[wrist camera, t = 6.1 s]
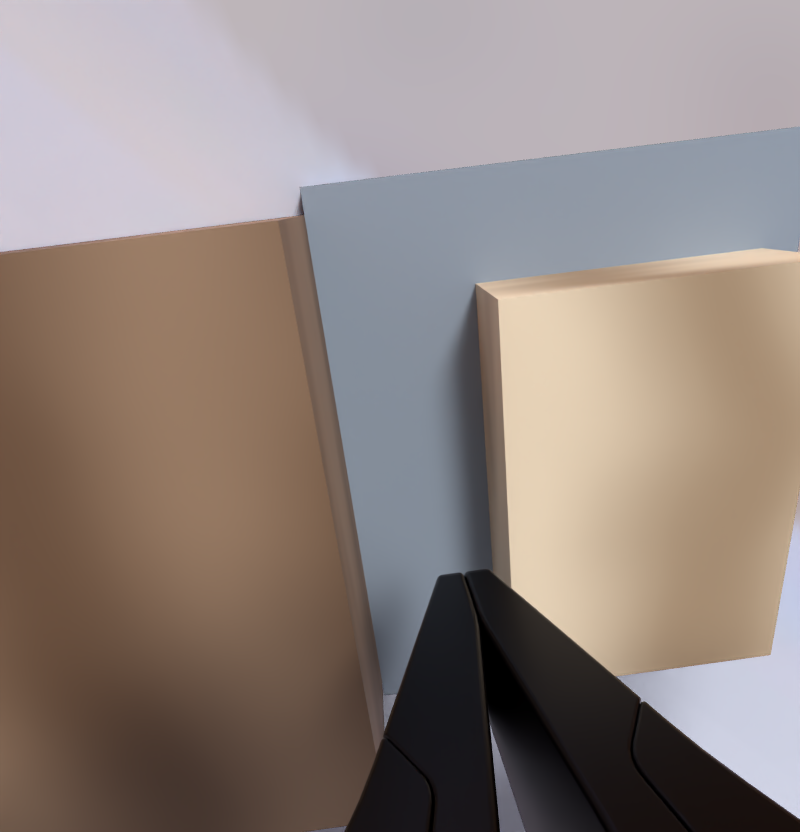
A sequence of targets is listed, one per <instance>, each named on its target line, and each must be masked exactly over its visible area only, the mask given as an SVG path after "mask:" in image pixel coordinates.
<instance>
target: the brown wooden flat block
mask: <svg viewBox="0 0 800 832" xmlns="http://www.w3.org/2000/svg"><path fill="white" fill-rule="evenodd" d="M383 734H384V712H383V689H382V678H381V672H380V666H379V660H378V654H377V648H376V642H375V636H374V630H373V624H372V618H371V612H370V606H369V600H368V594H367V588H366V582H365V576H364V570H363V564H362V558H361V552H360V546H359V540H358V534H357V528H356V522H355V516H354V510H353V504H352V498H351V492H350V486H349V480H348V474H347V468H346V462H345V456H344V450H343V444H342V438H341V432H340V426H339V420H338V414H337V408H336V402H335V396H334V390H333V384H332V378H331V372H330V366H329V360H328V354H327V348H326V342H325V336H324V330H323V324H322V318H321V312H320V306H319V300H318V294H317V288H316V282H315V276H314V270H313V264H312V258H311V252H310V246H309V240H308V234H307V228H306V222H305V216H304V215H301V216H292V217H284V218H276V219H268V220H260V221H252V222H243V223H235V224H227V225H219V226H211V227H202V228H194V229H186V230H178V231H170V232H162V233H153V234H145V235H137V236H129V237H121V238H113V239H104V240H96V241H88V242H80V243H72V244H63V245H55V246H47V247H39V248H31V249H23V250H14V251H6V252H0V832H307V831H314V830H321V829H327V828H334V827H341V826H347V825H348V823H349V821H350V819H351V816H352V814H353V812H354V810H355V808H356V805H357V803H358V801H359V799H360V796H361V793H362V791H363V788H364V786H365V783H366V780H367V778H368V775H369V773H370V770H371V767H372V765H373V762H374V759H375V756H376V753H377V750H378V748H379V745H380V742H381V740H382V739H383Z"/></svg>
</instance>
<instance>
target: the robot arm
mask: <svg viewBox="0 0 800 832" xmlns="http://www.w3.org/2000/svg"><path fill="white" fill-rule="evenodd" d="M490 725H491V728H492V731H493V735H494V738H495V741H496V744H497V747H498V750H499V753H500V756H501V759H502V762H503V765H504V768H505V771H506V774H507V777H508V780H509V783H510V786H511V789H512V792H513V795H514V798H515V801H516V804H517V807H518V810H519V813H520V816H521V819H522V822H523V825H524V828H525V831H526V832H800V819H799V818H797V817H796V816H794V815H793V814H792V813H790V812H789V811H787V810H786V809H784V808H783V807H782V806H780V805H779V804H777V803H776V802H775V801H773V800H772V799H770V798H769V797H768V796H766V795H765V794H763V793H762V792H761V791H759V790H758V789H756V788H755V787H753V786H752V785H751V784H749V783H748V782H746V781H745V780H744V779H742V778H741V777H740V776H738V775H737V774H736V773H734V772H733V771H732V770H730V769H729V768H728V767H726V766H725V765H724V764H722V763H721V762H719V761H718V760H717V759H715V758H714V757H713V756H711V755H710V754H709V753H707V752H706V751H705V750H703V749H702V748H701V747H699V746H698V745H697V744H696V743H695V742H693V741H692V740H691V739H690V738H688V737H687V736H686V735H685V734H683V733H682V732H681V731H680V730H679V729H677V728H676V727H675V726H674V725H672V724H671V723H670V722H669V721H667V720H666V719H665V718H664V717H663V716H662V715H660V714H659V713H658V712H657V711H656V710H654V709H653V708H652V707H651V706H650V705H649V704H647V703H646V702H641V698H640V697H639V696H638V695H637V694H635V693H634V692H633V691H632V690H631V689H630V688H628V687H627V686H626V685H625V684H624V683H622V682H621V681H620V680H619V679H618V678H617V677H615V676H614V675H613V674H612V673H611V672H610V671H608V670H607V669H606V668H605V667H604V666H603V665H601V664H600V663H599V662H598V661H597V660H595V659H594V658H593V657H592V656H591V655H590V654H588V653H587V652H586V651H585V650H584V649H583V648H581V647H580V646H579V645H578V644H577V643H576V642H574V641H573V640H572V639H571V638H570V637H568V636H567V635H566V634H565V633H564V632H563V631H561V630H560V629H559V628H558V627H557V626H556V625H554V624H553V623H552V622H551V621H550V620H549V619H547V618H546V617H545V616H544V615H543V614H542V613H540V612H539V611H538V610H537V609H536V608H534V607H533V606H532V605H531V604H530V603H529V602H527V601H526V600H525V599H524V598H523V597H522V596H520V595H519V594H518V593H517V592H516V591H515V590H513V589H512V588H511V587H510V586H509V585H507V584H506V583H505V582H504V581H503V580H502V579H500V578H499V577H498V576H497V575H496V574H495V573H493V572H492V571H491V570H489V569H480V570H472V571H467V572H466V573H465V574H464V575H463V574H462V573H460V572H458V573H450V574H443V575H440V576H438V578H437V580H436V583H435V586H434V589H433V592H432V595H431V597H430V600H429V603H428V606H427V609H426V612H425V615H424V618H423V621H422V624H421V627H420V629H419V632H418V635H417V638H416V641H415V644H414V647H413V650H412V653H411V656H410V658H409V661H408V664H407V667H406V670H405V673H404V676H403V679H402V682H401V685H400V687H399V690H398V693H397V696H396V699H395V702H394V705H393V708H392V711H391V714H390V717H389V719H388V722H387V725H386V728H385V731H384V734H383V739H382V740H381V742H380V745H379V748H378V750H377V753H376V756H375V759H374V762H373V765H372V767H371V770H370V773H369V775H368V778H367V780H366V783H365V786H364V788H363V791H362V793H361V796H360V799H359V801H358V803H357V805H356V808H355V810H354V812H353V814H352V816H351V819H350V821H349V823H348V825H347V827H346V830H345V832H500V826H499V816H498V805H497V795H496V785H495V774H494V764H493V753H492V743H491V732H490Z"/></svg>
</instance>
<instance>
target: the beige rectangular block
mask: <svg viewBox="0 0 800 832" xmlns="http://www.w3.org/2000/svg"><path fill="white" fill-rule="evenodd" d="M476 300H477V316H478V333H479V350H480V366H481V383H482V399H483V416H484V432H485V449H486V466H487V482H488V499H489V515H490V532H491V549H492V565H493V573H495V574H496V575H497V576H498V577H499V578H500V579H502V580H503V581H504V582H505V583H506V584H507V585H509V586H510V587H511V588H512V589H513V590H515V591H516V592H517V593H518V594H519V595H520V596H522V597H523V598H524V599H525V600H526V601H527V602H529V603H530V604H531V605H532V606H533V607H534V608H536V609H537V610H538V611H539V612H540V613H542V614H543V615H544V616H545V617H546V618H547V619H549V620H550V621H551V622H552V623H553V624H554V625H556V626H557V627H558V628H559V629H560V630H561V631H563V632H564V633H565V634H566V635H567V636H568V637H570V638H571V639H572V640H573V641H574V642H576V643H577V644H578V645H579V646H580V647H581V648H583V649H584V650H585V651H586V652H587V653H588V654H590V655H591V656H592V657H593V658H594V659H595V660H597V661H598V662H599V663H600V664H601V665H603V666H604V667H605V668H606V669H607V670H608V671H610V672H611V673H612V674H613V675H614V676H623V675H630V674H637V673H644V672H651V671H658V670H666V669H673V668H680V667H687V666H694V665H702V664H709V663H716V662H723V661H730V660H737V659H745V658H752V657H759V656H766V655H771V649H772V643H773V638H774V632H775V626H776V621H777V615H778V609H779V603H780V598H781V592H782V586H783V581H784V575H785V569H786V564H787V558H788V552H789V547H790V541H791V535H792V530H793V524H794V518H795V513H796V507H797V500H798V495H799V490H800V252H792V251H783V250H774V249H765V248H759V249H751V250H743V251H735V252H727V253H719V254H711V255H703V256H695V257H687V258H679V259H670V260H662V261H654V262H646V263H638V264H630V265H622V266H614V267H606V268H598V269H590V270H582V271H574V272H565V273H557V274H549V275H541V276H533V277H525V278H517V279H509V280H501V281H493V282H485V283H477V284H476Z"/></svg>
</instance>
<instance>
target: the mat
mask: <svg viewBox="0 0 800 832" xmlns="http://www.w3.org/2000/svg"><path fill="white" fill-rule="evenodd" d="M300 192H301V198H302V204H303V210H304V216H305V222H306V228H307V234H308V240H309V246H310V252H311V258H312V264H313V270H314V276H315V282H316V288H317V294H318V300H319V306H320V312H321V318H322V324H323V330H324V336H325V342H326V348H327V354H328V360H329V366H330V372H331V378H332V384H333V390H334V396H335V402H336V408H337V414H338V420H339V426H340V432H341V438H342V444H343V450H344V456H345V462H346V468H347V474H348V480H349V486H350V492H351V498H352V504H353V510H354V516H355V522H356V528H357V534H358V540H359V546H360V552H361V558H362V564H363V570H364V576H365V582H366V588H367V594H368V600H369V606H370V612H371V618H372V624H373V630H374V636H375V642H376V648H377V654H378V660H379V666H380V672H381V678H382V684H383V690H384V695H390V694H397V693H398V690H399V687H400V685H401V682H402V679H403V676H404V673H405V670H406V667H407V664H408V661H409V658H410V656H411V653H412V650H413V647H414V644H415V641H416V638H417V635H418V632H419V629H420V627H421V624H422V621H423V618H424V615H425V612H426V609H427V606H428V603H429V600H430V597H431V595H432V592H433V589H434V586H435V583H436V580H437V578H438V576H440V575H443V574H450V573H458V572H460V573H462V574H463V575H464V574H465V573H466V572H467V571H472V570H480V569H489V570H491V571H492V572H493V565H492V549H491V532H490V515H489V499H488V482H487V466H486V449H485V432H484V416H483V399H482V383H481V366H480V350H479V333H478V316H477V300H476V284H477V283H485V282H493V281H501V280H509V279H517V278H525V277H533V276H541V275H549V274H557V273H565V272H574V271H582V270H590V269H598V268H606V267H614V266H622V265H630V264H638V263H646V262H654V261H662V260H670V259H679V258H687V257H695V256H703V255H711V254H719V253H727V252H735V251H743V250H751V249H759V248H765V249H774V250H783V251H792V252H798V246H799V239H800V127H793V128H785V129H777V130H767V131H760V132H751V133H743V134H735V135H726V136H718V137H710V138H702V139H694V140H685V141H677V142H669V143H660V144H652V145H644V146H636V147H627V148H619V149H611V150H603V151H595V152H586V153H578V154H570V155H562V156H554V157H545V158H538V159H529V160H520V161H512V162H504V163H495V164H487V165H479V166H471V167H462V168H454V169H446V170H438V171H429V172H421V173H413V174H405V175H397V176H388V177H380V178H372V179H363V180H355V181H347V182H339V183H330V184H322V185H314V186H306V187H300Z"/></svg>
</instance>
